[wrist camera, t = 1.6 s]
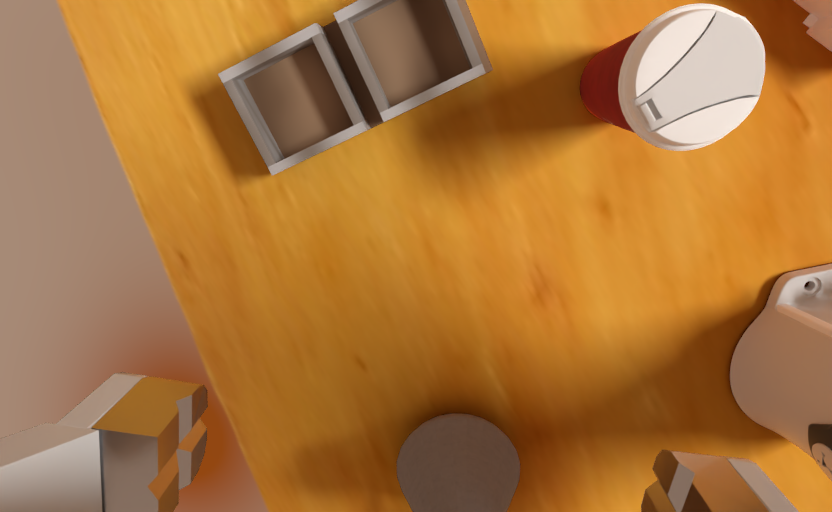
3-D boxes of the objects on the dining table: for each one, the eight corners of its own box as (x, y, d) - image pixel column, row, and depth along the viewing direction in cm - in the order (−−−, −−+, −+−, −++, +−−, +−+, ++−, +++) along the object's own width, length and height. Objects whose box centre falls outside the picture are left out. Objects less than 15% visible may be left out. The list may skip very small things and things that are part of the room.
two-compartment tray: (449, -33, 39) (450, -48, 35) (490, 70, 41) (496, 68, 37) (231, 80, 42) (208, 79, 38) (280, 171, 44) (263, 179, 40)
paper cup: (596, 153, 43) (668, 180, 29) (547, 71, 41) (599, 60, 28) (685, 95, 41) (803, 96, 28) (637, 8, 39) (739, -37, 26)
